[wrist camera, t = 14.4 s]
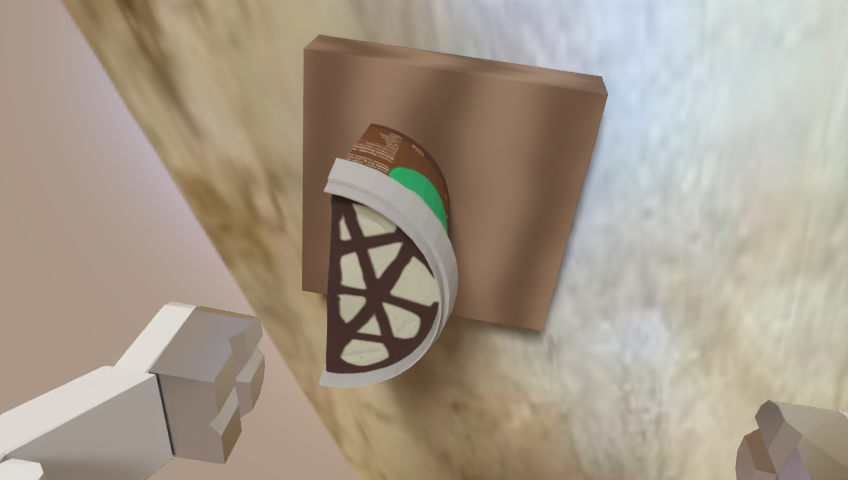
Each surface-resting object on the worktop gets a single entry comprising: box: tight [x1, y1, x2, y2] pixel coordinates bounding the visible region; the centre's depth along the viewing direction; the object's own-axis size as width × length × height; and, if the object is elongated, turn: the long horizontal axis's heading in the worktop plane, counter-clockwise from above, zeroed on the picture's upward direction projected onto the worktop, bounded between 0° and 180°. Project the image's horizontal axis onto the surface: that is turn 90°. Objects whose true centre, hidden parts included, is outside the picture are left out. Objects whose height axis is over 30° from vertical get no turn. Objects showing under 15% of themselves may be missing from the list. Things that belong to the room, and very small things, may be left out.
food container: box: [319, 123, 458, 387], centre depth 33 cm, size 12×6×10 cm, turn 173°
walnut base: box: [302, 35, 608, 331], centre depth 38 cm, size 16×16×3 cm
